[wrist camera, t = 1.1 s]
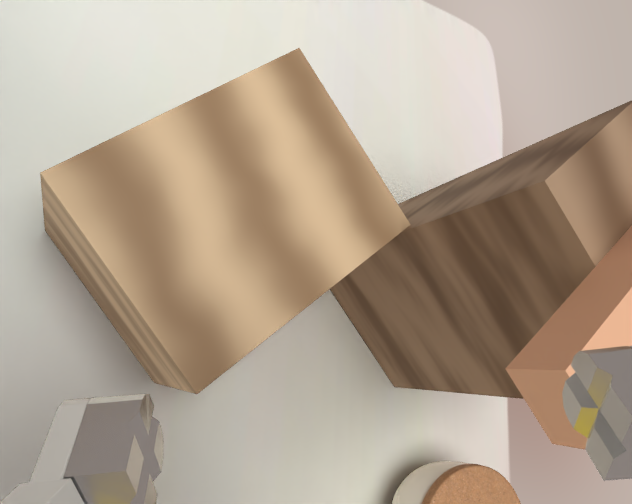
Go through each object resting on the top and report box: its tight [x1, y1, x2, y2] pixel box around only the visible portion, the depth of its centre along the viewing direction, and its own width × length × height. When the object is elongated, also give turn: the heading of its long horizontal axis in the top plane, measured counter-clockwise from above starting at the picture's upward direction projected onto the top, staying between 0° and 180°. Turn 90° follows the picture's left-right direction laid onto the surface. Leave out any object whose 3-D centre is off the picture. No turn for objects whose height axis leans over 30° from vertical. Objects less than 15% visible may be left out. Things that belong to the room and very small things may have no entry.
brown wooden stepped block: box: [40, 48, 632, 398], centre depth 36 cm, size 27×28×26 cm
